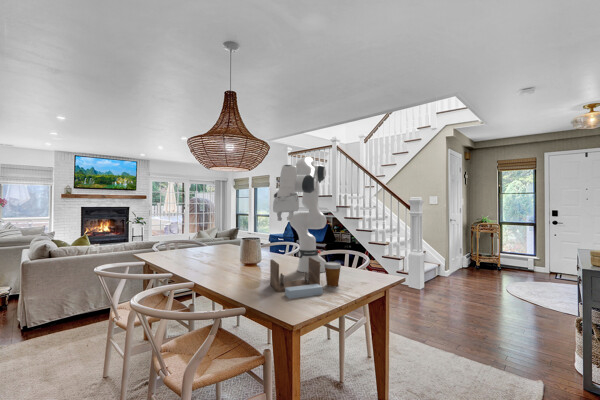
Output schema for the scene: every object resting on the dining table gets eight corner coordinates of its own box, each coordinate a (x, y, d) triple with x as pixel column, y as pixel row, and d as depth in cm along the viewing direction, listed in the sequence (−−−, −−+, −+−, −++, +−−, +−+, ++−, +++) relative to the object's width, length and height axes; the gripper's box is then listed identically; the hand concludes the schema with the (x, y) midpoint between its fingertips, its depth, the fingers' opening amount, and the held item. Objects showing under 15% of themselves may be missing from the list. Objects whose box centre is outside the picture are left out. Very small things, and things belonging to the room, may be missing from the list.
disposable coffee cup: (331, 288, 158) (331, 266, 158) (320, 284, 166) (320, 262, 166) (344, 285, 163) (344, 264, 163) (333, 281, 171) (333, 261, 171)
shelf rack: (310, 281, 172) (310, 257, 172) (319, 287, 159) (319, 261, 159) (270, 284, 164) (270, 259, 164) (276, 292, 151) (276, 264, 151)
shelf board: (317, 291, 154) (317, 283, 154) (322, 294, 148) (322, 286, 148) (284, 295, 146) (285, 287, 146) (289, 299, 141) (289, 291, 141)
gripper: (303, 193, 148) (300, 221, 146) (281, 197, 165) (279, 221, 162) (292, 191, 144) (290, 219, 142) (272, 195, 161) (269, 220, 159)
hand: (284, 220), depth 152 cm, fingers open, 8 cm apart
